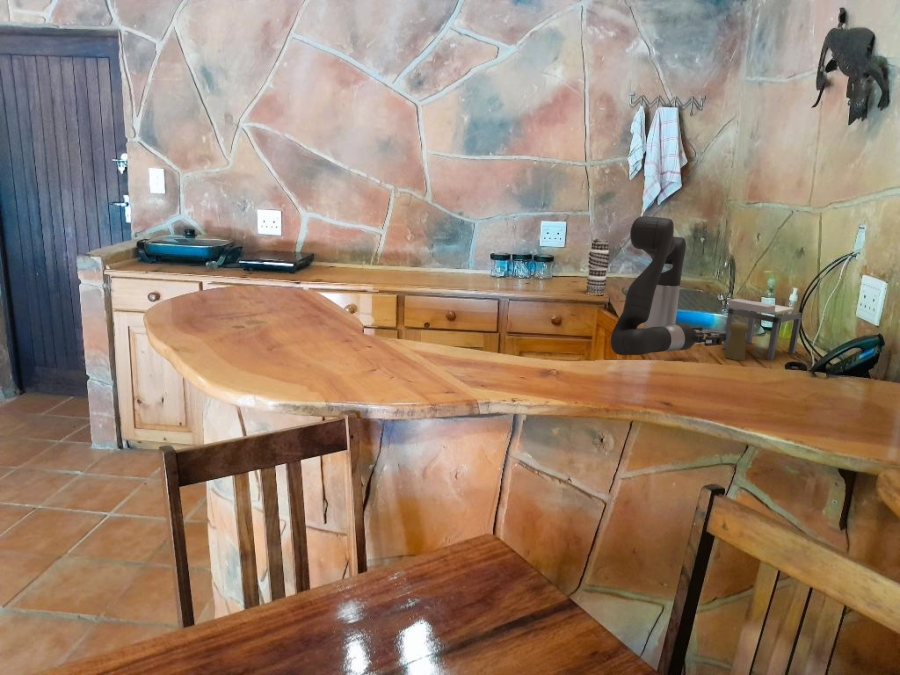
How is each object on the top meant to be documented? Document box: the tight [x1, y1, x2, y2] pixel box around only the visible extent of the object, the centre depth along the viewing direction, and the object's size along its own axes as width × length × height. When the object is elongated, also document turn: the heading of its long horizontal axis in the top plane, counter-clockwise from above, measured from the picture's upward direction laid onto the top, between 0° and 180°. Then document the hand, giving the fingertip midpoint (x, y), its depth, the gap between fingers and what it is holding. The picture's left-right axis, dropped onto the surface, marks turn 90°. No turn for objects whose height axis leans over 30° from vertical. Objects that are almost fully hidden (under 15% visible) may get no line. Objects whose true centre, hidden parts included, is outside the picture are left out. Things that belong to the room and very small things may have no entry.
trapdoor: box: [727, 298, 795, 316], centre depth 200 cm, size 12×18×3 cm, turn 129°
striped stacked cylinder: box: [585, 238, 610, 294], centre depth 292 cm, size 9×9×25 cm
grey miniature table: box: [722, 307, 803, 361], centre depth 204 cm, size 16×16×13 cm
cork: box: [723, 321, 749, 361], centre depth 195 cm, size 6×6×11 cm
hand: (713, 333), depth 189 cm, fingers open, 8 cm apart
